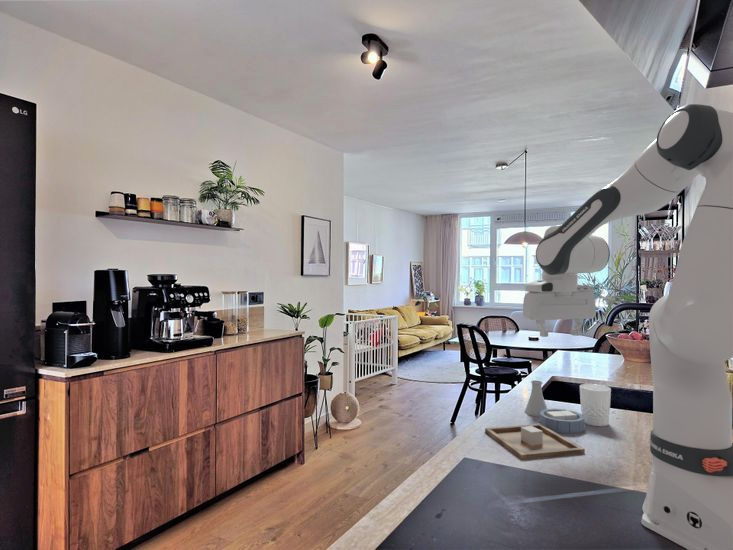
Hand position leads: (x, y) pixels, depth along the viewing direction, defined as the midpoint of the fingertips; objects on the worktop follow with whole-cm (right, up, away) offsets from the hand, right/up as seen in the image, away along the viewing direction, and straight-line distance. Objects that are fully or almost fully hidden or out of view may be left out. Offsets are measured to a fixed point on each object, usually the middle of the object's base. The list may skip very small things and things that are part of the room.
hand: (559, 336), depth 125 cm
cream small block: (-1, -24, 0) cm, 24 cm away
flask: (-2, -25, +12) cm, 28 cm away
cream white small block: (-12, -25, -12) cm, 30 cm away
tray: (-12, -25, -12) cm, 30 cm away
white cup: (+12, -25, +5) cm, 28 cm away
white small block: (+2, -24, +1) cm, 24 cm away
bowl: (+1, -25, 0) cm, 25 cm away
